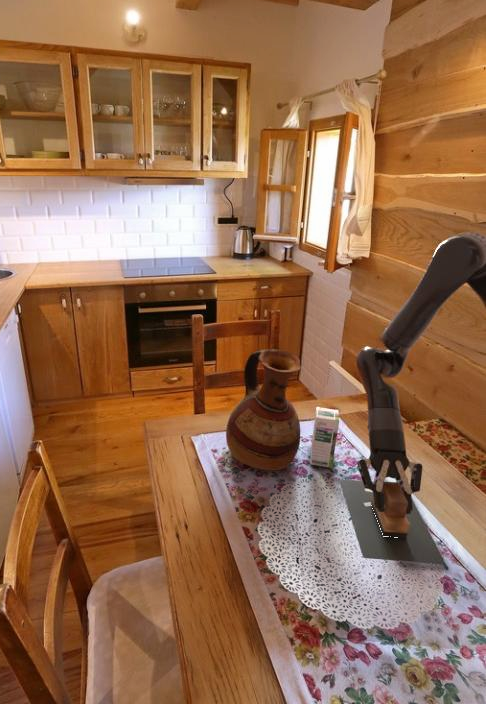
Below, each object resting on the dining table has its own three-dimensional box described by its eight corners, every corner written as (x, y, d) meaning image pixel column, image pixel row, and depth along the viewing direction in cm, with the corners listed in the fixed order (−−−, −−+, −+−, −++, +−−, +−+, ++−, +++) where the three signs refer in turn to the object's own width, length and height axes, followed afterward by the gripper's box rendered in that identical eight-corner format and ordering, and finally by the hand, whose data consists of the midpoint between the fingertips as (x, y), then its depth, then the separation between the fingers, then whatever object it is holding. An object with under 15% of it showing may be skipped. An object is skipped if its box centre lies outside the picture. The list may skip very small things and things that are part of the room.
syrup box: (309, 464, 107) (316, 417, 102) (310, 451, 112) (316, 405, 107) (331, 469, 105) (339, 421, 100) (331, 454, 111) (338, 408, 106)
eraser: (391, 505, 93) (398, 477, 90) (406, 538, 85) (414, 508, 82) (370, 504, 93) (376, 476, 91) (383, 537, 85) (390, 507, 82)
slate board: (403, 486, 100) (404, 484, 100) (445, 567, 80) (446, 564, 79) (338, 481, 101) (339, 479, 101) (362, 560, 80) (363, 557, 80)
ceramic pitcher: (261, 490, 97) (271, 379, 87) (209, 447, 112) (213, 348, 102) (313, 458, 109) (327, 357, 99) (260, 423, 124) (267, 332, 113)
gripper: (359, 425, 90) (365, 510, 83) (424, 429, 89) (437, 515, 82) (349, 431, 97) (354, 510, 89) (410, 435, 96) (420, 515, 89)
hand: (394, 512), depth 86 cm, fingers closed on eraser, 4 cm apart
